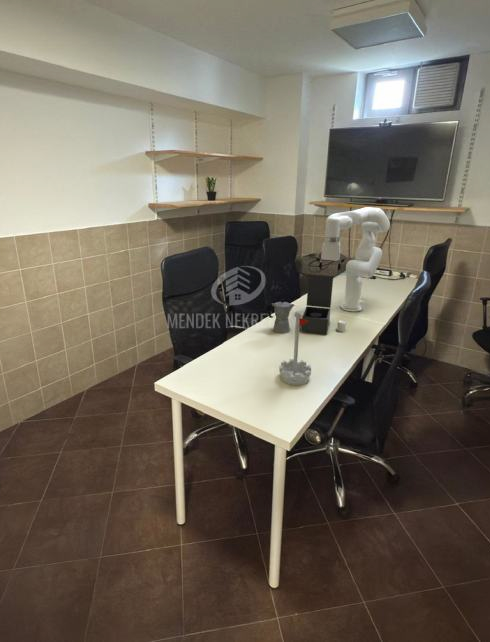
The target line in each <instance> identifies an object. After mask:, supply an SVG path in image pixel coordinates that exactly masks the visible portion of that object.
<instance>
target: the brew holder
mask: <svg viewBox="0 0 490 642" xmlns="http://www.w3.org/2000/svg"><path fill="white" fill-rule="evenodd" d="M321 316H322V315H321V314H320V313H316V312H314V313H311V314H310V317H313V318H321Z"/></svg>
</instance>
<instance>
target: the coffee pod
mask: <svg viewBox="0 0 490 642" xmlns="http://www.w3.org/2000/svg"><path fill="white" fill-rule="evenodd" d="M346 327H347V321H345V320H342V319H340V320H338V321H337V327H336V331H338V332H341V333H343V332H344V333H345V332H346Z"/></svg>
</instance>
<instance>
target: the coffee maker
mask: <svg viewBox="0 0 490 642" xmlns="http://www.w3.org/2000/svg"><path fill="white" fill-rule="evenodd" d="M314 312H316V313H320V314H321V315H322V316H321V318H313V317H310V314H311V313H314ZM301 318H302V319H305V320H307V321H308V322H306V323H305V324H304V325H302V326H301V327H300V329H301V331H300V332H302V333H310V334H315V335H317V334H318V335H324V336H325V335H328V330H329V326H330V319H331V308H326V307H315V306H307V305H306V307H305V309H304V311H303V314H302V315H301Z"/></svg>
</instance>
